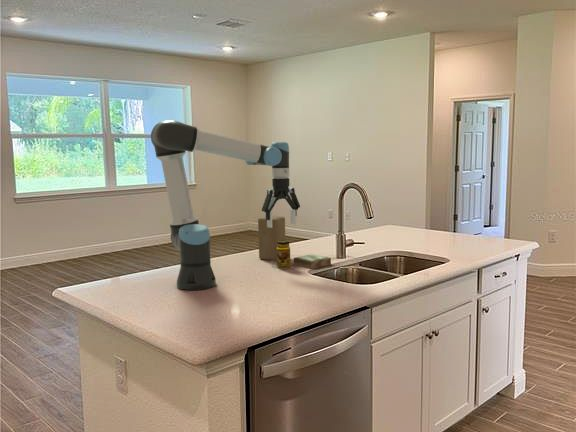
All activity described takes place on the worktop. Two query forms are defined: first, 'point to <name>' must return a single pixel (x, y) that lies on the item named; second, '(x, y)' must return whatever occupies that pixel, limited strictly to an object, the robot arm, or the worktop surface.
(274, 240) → the wooden block
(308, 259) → the stand
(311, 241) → the worktop surface
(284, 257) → the condiment
